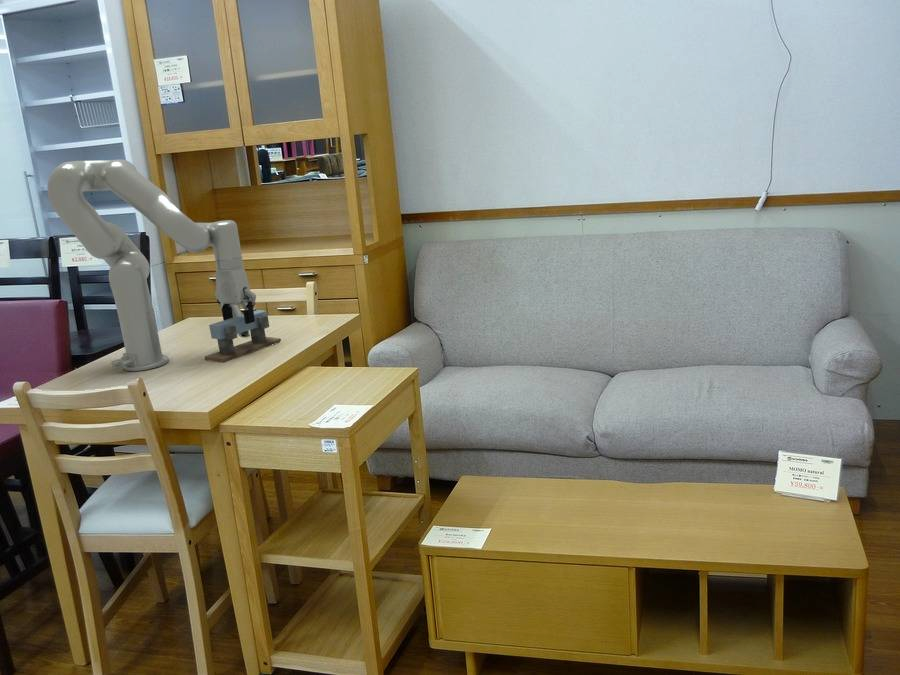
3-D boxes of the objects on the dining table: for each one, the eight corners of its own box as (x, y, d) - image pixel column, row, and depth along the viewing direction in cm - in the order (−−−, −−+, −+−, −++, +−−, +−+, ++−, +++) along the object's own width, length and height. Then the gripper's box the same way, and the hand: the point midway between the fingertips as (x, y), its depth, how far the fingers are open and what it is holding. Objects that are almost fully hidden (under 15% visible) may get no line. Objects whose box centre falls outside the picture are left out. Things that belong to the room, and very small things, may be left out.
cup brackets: (222, 362, 229) (217, 331, 226) (205, 359, 233) (199, 329, 231) (281, 341, 245) (276, 312, 243) (263, 339, 250) (259, 311, 248)
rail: (220, 339, 230) (218, 325, 229) (211, 338, 232) (209, 324, 231) (268, 323, 243) (266, 310, 242) (259, 322, 246) (257, 309, 245)
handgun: (253, 361, 263) (249, 322, 255) (243, 363, 262) (239, 324, 253) (232, 314, 286) (227, 276, 278) (223, 315, 285) (218, 278, 277)
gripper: (200, 265, 235) (210, 322, 239) (238, 267, 225) (248, 327, 229) (221, 260, 241) (230, 316, 245) (259, 262, 230) (268, 320, 235)
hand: (239, 321), depth 237 cm, fingers open, 9 cm apart
